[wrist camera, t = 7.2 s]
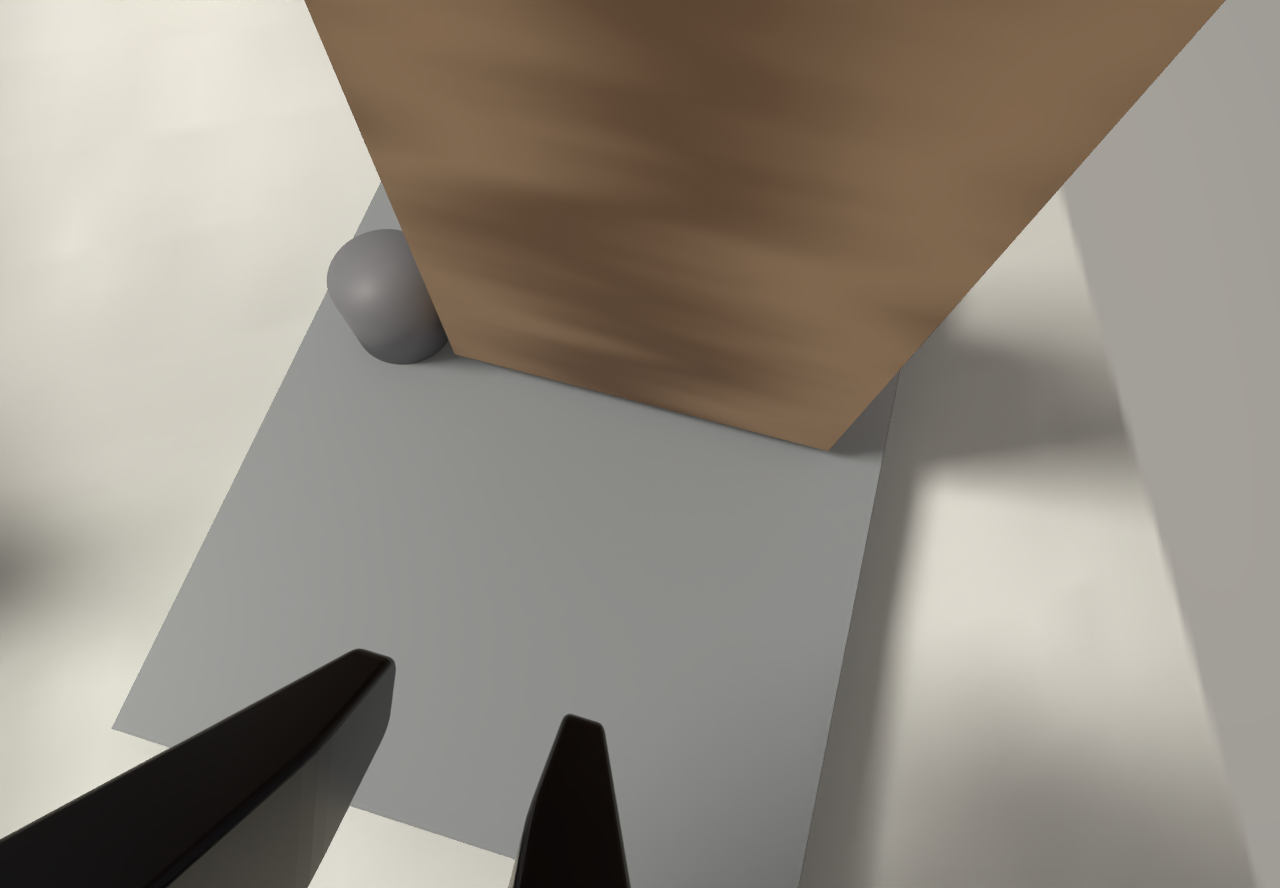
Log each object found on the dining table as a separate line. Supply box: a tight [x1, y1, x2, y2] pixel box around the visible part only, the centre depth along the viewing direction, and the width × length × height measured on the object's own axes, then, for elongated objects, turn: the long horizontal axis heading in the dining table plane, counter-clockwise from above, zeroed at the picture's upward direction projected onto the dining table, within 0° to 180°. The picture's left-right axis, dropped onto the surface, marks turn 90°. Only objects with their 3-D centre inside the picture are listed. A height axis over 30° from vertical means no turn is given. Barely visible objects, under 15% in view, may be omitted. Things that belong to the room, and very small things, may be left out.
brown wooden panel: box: [305, 0, 1225, 451], centre depth 11 cm, size 9×2×14 cm, turn 75°
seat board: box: [112, 182, 900, 888], centre depth 16 cm, size 16×14×6 cm
